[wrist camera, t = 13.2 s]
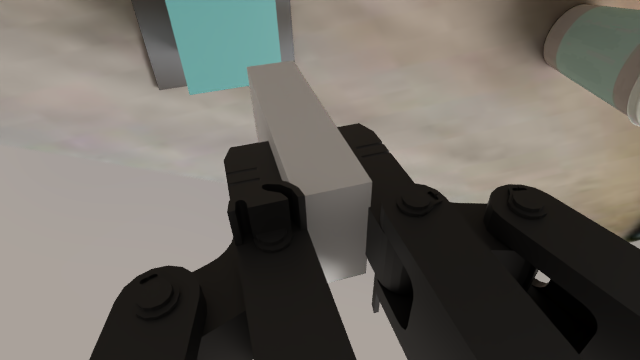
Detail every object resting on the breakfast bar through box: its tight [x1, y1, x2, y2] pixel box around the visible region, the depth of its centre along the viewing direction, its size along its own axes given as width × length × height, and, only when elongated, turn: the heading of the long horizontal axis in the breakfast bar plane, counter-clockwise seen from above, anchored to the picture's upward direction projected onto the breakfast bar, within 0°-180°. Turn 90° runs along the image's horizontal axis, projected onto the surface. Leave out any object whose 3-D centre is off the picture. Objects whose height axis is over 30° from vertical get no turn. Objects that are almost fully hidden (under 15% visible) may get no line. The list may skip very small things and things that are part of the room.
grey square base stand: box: [131, 0, 295, 90], centre depth 23 cm, size 10×10×7 cm
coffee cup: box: [543, 4, 640, 126], centre depth 31 cm, size 8×8×12 cm
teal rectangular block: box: [165, 0, 281, 95], centre depth 22 cm, size 5×5×7 cm
